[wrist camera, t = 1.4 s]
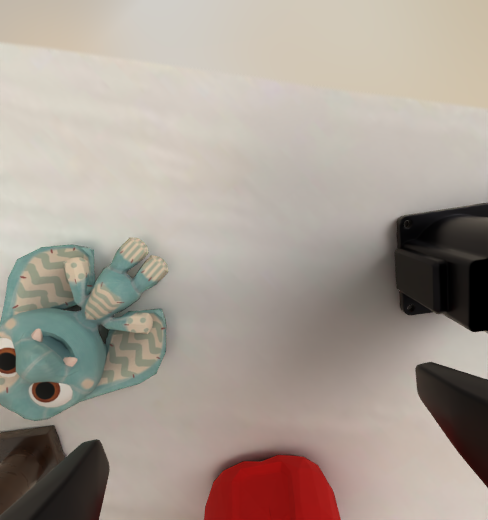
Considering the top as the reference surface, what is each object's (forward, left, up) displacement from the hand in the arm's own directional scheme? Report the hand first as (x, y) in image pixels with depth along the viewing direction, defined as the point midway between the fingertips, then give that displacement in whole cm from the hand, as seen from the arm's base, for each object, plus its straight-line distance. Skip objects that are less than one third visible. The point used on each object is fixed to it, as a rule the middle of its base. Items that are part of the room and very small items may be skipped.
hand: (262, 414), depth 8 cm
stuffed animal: (+10, 0, -12) cm, 16 cm away
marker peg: (+18, +10, -12) cm, 24 cm away
